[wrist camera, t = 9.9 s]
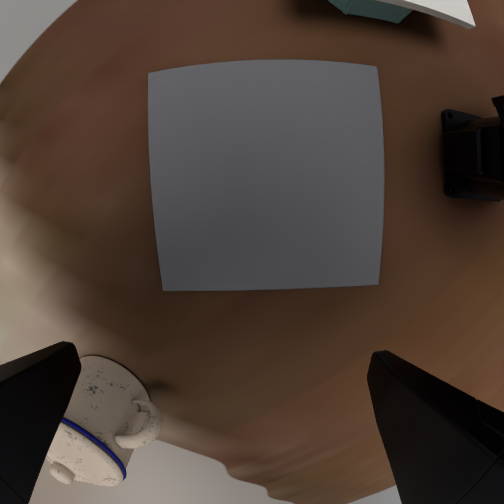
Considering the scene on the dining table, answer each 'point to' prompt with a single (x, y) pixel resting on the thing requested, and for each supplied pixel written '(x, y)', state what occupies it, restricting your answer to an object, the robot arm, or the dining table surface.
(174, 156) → the mat
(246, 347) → the dining table surface
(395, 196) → the dining table surface
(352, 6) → the bowl
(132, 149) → the dining table surface
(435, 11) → the lid
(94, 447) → the teacup with lid
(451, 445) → the robot arm
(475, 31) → the dining table surface
